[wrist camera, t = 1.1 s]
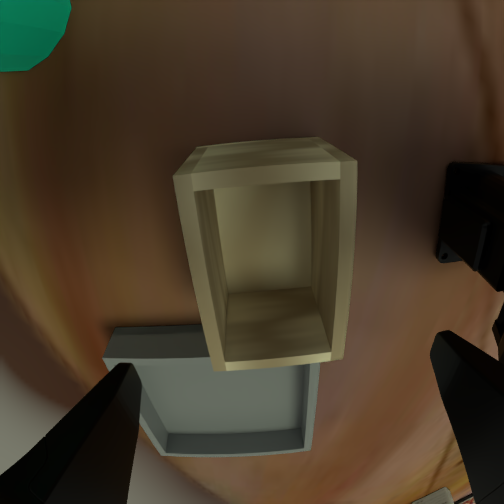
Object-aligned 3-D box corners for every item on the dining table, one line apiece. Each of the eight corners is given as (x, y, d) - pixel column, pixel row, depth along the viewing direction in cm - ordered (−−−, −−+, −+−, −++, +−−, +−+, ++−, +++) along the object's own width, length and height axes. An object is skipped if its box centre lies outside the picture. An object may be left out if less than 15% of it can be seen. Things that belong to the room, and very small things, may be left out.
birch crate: (317, 136, 15) (357, 160, 10) (318, 288, 19) (342, 359, 14) (197, 146, 15) (172, 176, 10) (220, 297, 19) (213, 371, 14)
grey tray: (312, 314, 20) (321, 347, 17) (306, 423, 26) (310, 450, 24) (115, 327, 20) (102, 357, 18) (165, 429, 26) (161, 455, 24)
